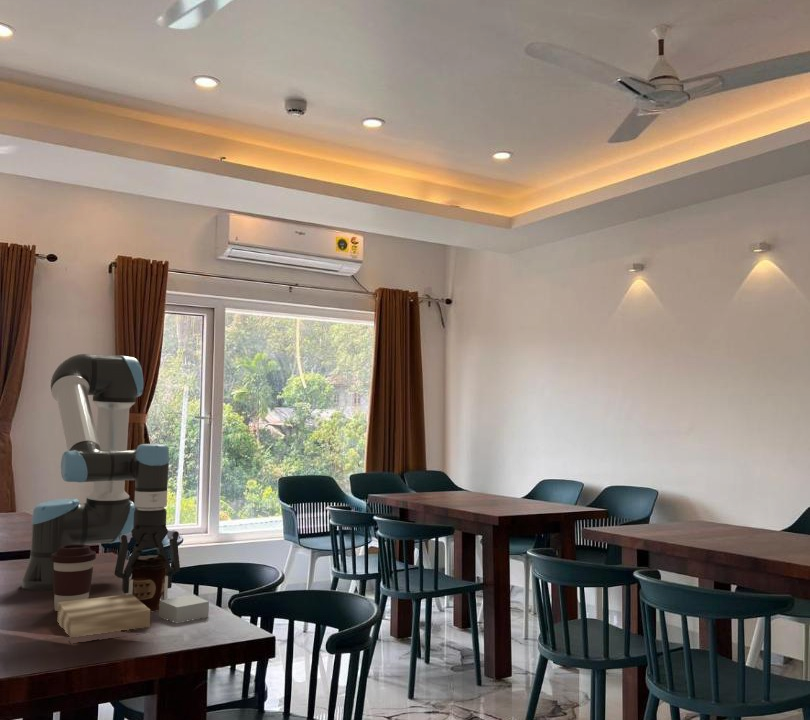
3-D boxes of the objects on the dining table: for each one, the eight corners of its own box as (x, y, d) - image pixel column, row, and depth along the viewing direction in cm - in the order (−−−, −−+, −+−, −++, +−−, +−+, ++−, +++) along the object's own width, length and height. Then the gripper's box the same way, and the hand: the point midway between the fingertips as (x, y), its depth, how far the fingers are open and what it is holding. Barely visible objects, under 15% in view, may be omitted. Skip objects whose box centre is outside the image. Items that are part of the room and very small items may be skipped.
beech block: (56, 624, 171) (58, 602, 171) (130, 615, 179) (131, 594, 180) (70, 644, 157) (71, 619, 158) (149, 633, 166) (150, 609, 166)
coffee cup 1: (102, 607, 186) (105, 544, 187) (72, 617, 177) (75, 551, 178) (69, 602, 190) (72, 541, 191) (38, 612, 180) (42, 548, 181)
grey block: (158, 622, 175) (159, 600, 175) (190, 616, 181) (191, 594, 181) (176, 630, 169) (176, 607, 170) (208, 623, 175) (208, 601, 175)
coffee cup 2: (153, 618, 178) (155, 561, 178) (120, 615, 179) (123, 559, 180) (171, 608, 186) (173, 554, 187) (140, 606, 188) (143, 552, 189)
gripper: (109, 512, 176) (105, 613, 175) (197, 507, 187) (193, 602, 186) (102, 508, 182) (98, 606, 181) (187, 504, 193) (183, 596, 192)
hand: (146, 604), depth 183 cm, fingers closed on coffee cup 2, 7 cm apart
